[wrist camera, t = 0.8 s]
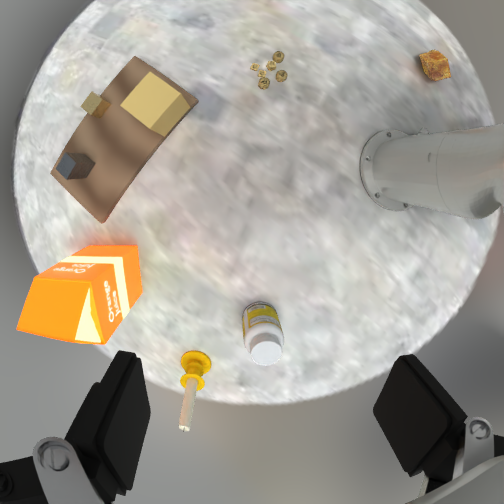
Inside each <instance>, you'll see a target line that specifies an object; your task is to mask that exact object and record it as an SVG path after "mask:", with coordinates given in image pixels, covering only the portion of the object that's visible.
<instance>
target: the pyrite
mask: <svg viewBox="0 0 504 504" xmlns="http://www.w3.org/2000/svg"><path fill="white" fill-rule="evenodd" d="M420 59H421V62H422V66H423V70H424V72H425V74H426V75H427V76H428V77H429V78H430V79H431V80H434V81H437V80H442V79H446V78H450V77H451V74H450V69H449V64H448V59H447V58H446V57H445V56H444V55H442V54H441V53H440V52H439V51H436V50H431V51H429V52H428V53H424V54H420Z"/></svg>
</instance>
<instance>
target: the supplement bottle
mask: <svg viewBox="0 0 504 504" xmlns="http://www.w3.org/2000/svg"><path fill="white" fill-rule="evenodd" d="M242 322H243V337H244V345H245V348H246V350H247V351H248V352H249V353H250V354H251V358H252V360H253V361H254V362H255V363H256V364H258V365H262V366H268V365H272V364H274V363H276V362H277V361H279V359H280V358H281V356H282V346H283V344H284V335H283V332H282V328H281V325H280V322H279V319H278V315H277V313H276V311H275V309H274V308H273V307H272V306H271V305H269V304H267V303H263V302H258V303H254V304H252V305H250V306H248V307H247V308H246V310H245V311H244V313H243V317H242Z"/></svg>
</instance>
